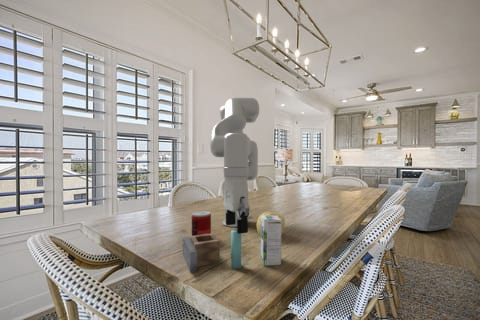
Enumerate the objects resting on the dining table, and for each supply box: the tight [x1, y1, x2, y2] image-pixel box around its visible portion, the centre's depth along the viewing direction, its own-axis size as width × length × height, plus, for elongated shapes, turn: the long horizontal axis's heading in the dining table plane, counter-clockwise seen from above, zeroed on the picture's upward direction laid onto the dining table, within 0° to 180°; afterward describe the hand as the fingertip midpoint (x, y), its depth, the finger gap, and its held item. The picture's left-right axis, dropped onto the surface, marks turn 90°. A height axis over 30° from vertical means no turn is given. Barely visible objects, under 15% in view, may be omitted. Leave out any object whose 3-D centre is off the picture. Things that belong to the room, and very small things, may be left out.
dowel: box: [230, 228, 242, 270], centre depth 72 cm, size 3×3×11 cm
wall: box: [182, 236, 198, 274], centre depth 75 cm, size 2×14×6 cm, turn 23°
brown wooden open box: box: [189, 232, 221, 267], centre depth 77 cm, size 8×8×7 cm
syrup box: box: [260, 215, 282, 267], centre depth 75 cm, size 6×6×14 cm
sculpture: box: [256, 211, 286, 237], centre depth 99 cm, size 11×12×11 cm
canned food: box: [191, 210, 212, 236], centre depth 96 cm, size 8×8×11 cm
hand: (236, 228), depth 71 cm, fingers open, 9 cm apart
